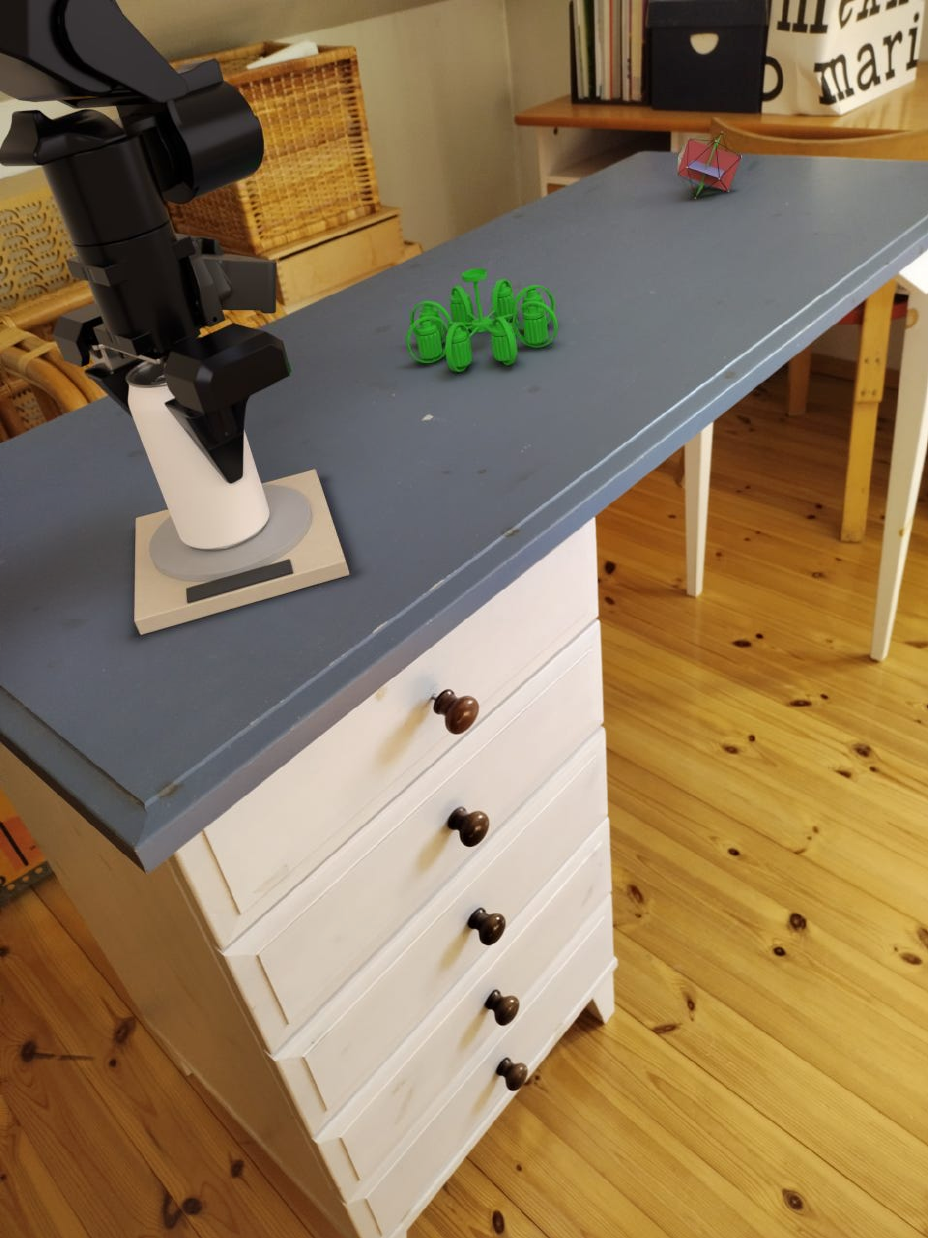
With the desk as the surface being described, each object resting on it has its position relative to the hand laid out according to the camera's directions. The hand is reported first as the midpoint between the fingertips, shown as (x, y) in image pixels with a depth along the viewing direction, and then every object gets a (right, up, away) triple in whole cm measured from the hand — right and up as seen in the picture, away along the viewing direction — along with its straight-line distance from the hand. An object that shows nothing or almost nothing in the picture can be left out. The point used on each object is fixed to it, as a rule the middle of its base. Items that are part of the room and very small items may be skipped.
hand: (207, 468), depth 64 cm
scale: (+1, -5, +4) cm, 7 cm away
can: (+1, -4, +3) cm, 5 cm away
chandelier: (+19, +16, +26) cm, 36 cm away
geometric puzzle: (+48, +43, +54) cm, 84 cm away
